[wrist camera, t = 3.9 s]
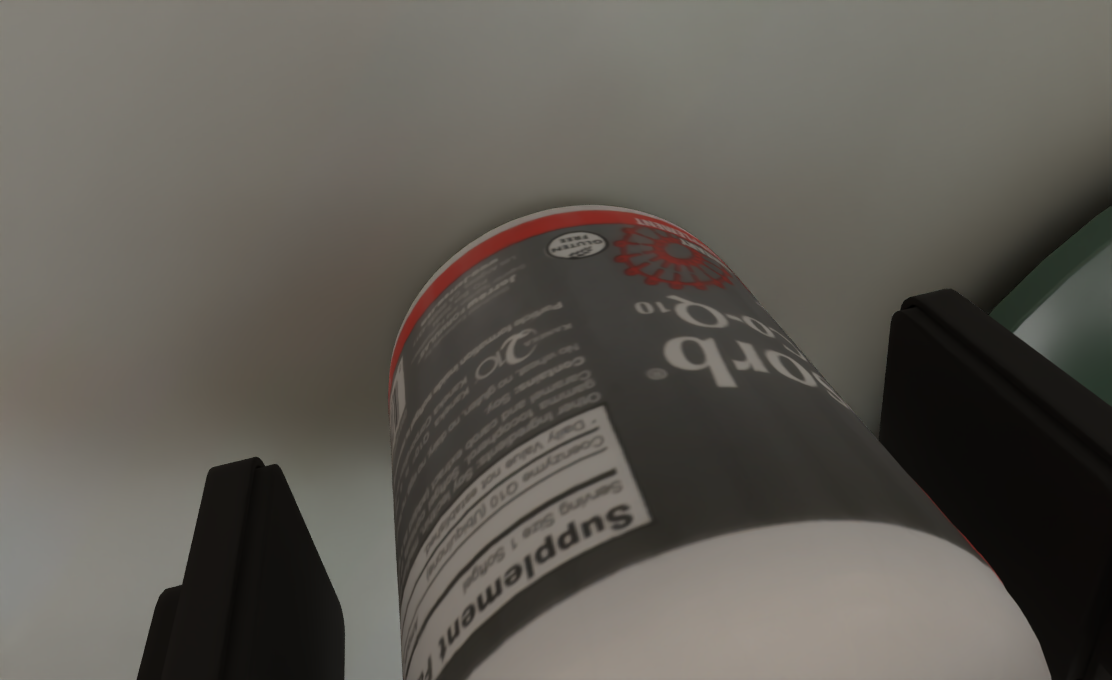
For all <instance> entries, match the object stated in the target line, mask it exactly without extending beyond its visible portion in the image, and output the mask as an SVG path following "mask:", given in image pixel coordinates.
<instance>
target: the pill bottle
mask: <svg viewBox="0 0 1112 680" xmlns="http://www.w3.org/2000/svg"><path fill="white" fill-rule="evenodd" d="M388 404H389V423H390V442H391V458H392V485H393V499H394V522H395V541H396V560H397V577H398V594H399V611H400V629H401V651H402V672H403V680H1051V675H1050V672H1049V669H1048V666H1047V663H1046V660H1045V657H1044V655H1043V652H1042V649H1041V646H1040V643H1039V641H1038V639H1037V637H1036V635H1035V634H1034V632H1033V630H1032V628H1031V626H1030V625H1029V623H1028V621H1027V619H1026V618H1025V616H1024V614H1023V613H1022V611H1021V609H1020V608H1019V606H1018V605H1017V604H1016V602H1015V601H1014V600H1013V598H1012V597H1011V596H1010V594H1009V593H1008V592H1007V590H1006V589H1005V587H1004V585H1003V583H1002V581H1001V580H1000V578H999V577H998V575H997V574H996V573H995V571H994V570H993V569H992V567H991V566H990V565H989V564H988V562H987V561H986V560H985V559H984V557H983V556H982V555H981V554H980V553H979V552H978V551H977V550H976V549H975V548H974V547H973V545H972V544H971V543H970V542H969V541H968V540H967V538H966V537H965V536H964V535H963V534H962V533H961V532H960V531H959V530H958V529H957V528H956V527H955V526H954V525H953V524H952V523H951V522H950V521H949V519H948V518H947V517H946V516H945V515H944V514H943V512H942V511H941V510H940V509H939V508H938V507H937V505H936V504H935V503H934V502H933V501H932V499H931V498H930V497H929V496H928V495H927V494H926V493H925V492H924V491H923V490H922V488H921V487H920V486H919V485H918V484H917V483H916V482H915V481H914V480H913V479H912V478H911V477H910V476H909V475H908V474H907V473H906V471H905V470H904V469H903V468H902V467H901V466H900V465H899V463H898V462H897V461H896V460H895V459H894V458H893V457H892V455H891V454H890V453H889V452H888V451H887V450H886V449H885V447H884V446H883V445H882V444H881V443H880V442H879V441H878V439H877V438H876V437H875V436H874V435H873V434H872V432H871V431H870V430H869V429H868V428H867V427H866V426H865V424H864V423H863V422H862V421H861V420H860V419H859V417H858V416H857V415H856V414H855V413H854V411H853V410H852V409H851V408H850V407H849V406H848V405H847V403H846V402H845V401H844V400H843V399H842V398H841V397H840V396H839V395H838V393H837V392H836V391H835V390H834V389H833V388H832V387H831V386H830V384H829V383H828V382H827V381H826V380H825V379H824V377H823V376H822V375H821V374H820V373H819V372H818V370H817V369H816V368H815V367H814V366H813V364H812V363H811V362H810V361H809V360H808V359H807V357H806V356H805V355H804V354H803V353H802V351H801V350H800V349H799V348H798V347H797V346H796V344H795V343H794V342H793V341H792V340H791V339H790V338H789V336H788V335H787V334H786V333H785V332H784V331H783V330H782V328H781V327H780V326H779V325H778V324H777V323H776V322H775V320H774V319H773V318H772V317H771V316H770V315H769V313H768V312H767V311H766V310H765V309H764V308H763V307H762V305H761V304H760V303H759V302H758V301H757V300H756V298H755V297H754V296H753V295H752V294H751V292H750V291H749V290H748V289H747V287H746V286H745V285H744V284H743V283H742V282H741V281H740V280H739V278H738V277H737V276H736V275H735V274H734V273H733V271H732V270H731V269H730V268H729V267H728V266H727V265H726V264H725V263H724V262H723V261H722V260H721V259H720V258H719V257H718V256H717V255H716V254H715V253H714V252H713V251H712V250H710V249H709V248H708V247H707V246H706V245H705V244H703V243H702V242H701V241H700V240H699V239H697V238H696V237H695V236H693V235H692V234H690V233H689V232H687V231H686V230H684V229H683V228H681V227H679V226H677V225H675V224H673V223H671V222H669V221H667V220H664V219H662V218H659V217H656V216H654V215H651V214H648V213H645V212H641V211H637V210H633V209H627V208H622V207H615V206H605V205H578V206H568V207H560V208H553V209H548V210H544V211H540V212H537V213H533V214H530V215H527V216H524V217H521V218H518V219H515V220H512V221H510V222H507V223H505V224H503V225H501V226H499V227H497V228H495V229H493V230H491V231H489V232H487V233H485V234H484V235H482V236H481V237H479V238H477V239H476V240H474V241H473V242H471V243H469V244H468V245H467V246H465V247H464V248H463V249H462V250H460V251H459V252H458V253H456V254H455V255H454V256H452V257H451V258H450V259H449V260H448V261H447V262H446V263H445V264H444V265H442V267H441V268H440V269H439V270H438V271H437V272H436V273H435V274H434V275H433V276H432V277H431V278H430V279H429V281H428V282H427V283H426V284H425V286H424V287H423V289H422V290H421V291H420V293H419V294H418V295H417V297H416V299H415V300H414V302H413V303H412V305H411V307H410V309H409V311H408V312H407V314H406V316H405V319H404V321H403V323H402V325H401V328H400V330H399V332H398V335H397V339H396V342H395V346H394V349H393V353H392V358H391V365H390V374H389V391H388Z"/></svg>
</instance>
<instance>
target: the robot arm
mask: <svg viewBox="0 0 1112 680" xmlns="http://www.w3.org/2000/svg"><path fill="white" fill-rule="evenodd" d="M879 442H880V443H881V444H882V445H883V446H884V447H885V449H886V450H887V451H888V452H889V453H890V454H891V455H892V457H893V458H894V459H895V460H896V461H897V462H898V463H899V465H900V466H901V467H902V468H903V469H904V470H905V471H906V473H907V474H908V475H909V476H910V477H911V478H912V479H913V480H914V481H915V482H916V483H917V484H918V485H919V486H920V487H921V488H922V490H923V491H924V492H925V493H926V494H927V495H928V496H929V497H930V498H931V499H932V501H933V502H934V503H935V504H936V505H937V507H938V508H939V509H940V510H941V511H942V512H943V514H944V515H945V516H946V517H947V518H948V519H949V521H950V522H951V523H952V524H953V525H954V526H955V527H956V528H957V529H958V530H959V531H960V532H961V533H962V534H963V535H964V536H965V537H966V538H967V540H968V541H969V542H970V543H971V544H972V545H973V547H974V548H975V549H976V550H977V551H978V552H979V553H980V554H981V555H982V556H983V557H984V559H985V560H986V561H987V562H988V564H989V565H990V566H991V567H992V569H993V570H994V571H995V573H996V574H997V575H998V577H999V578H1000V580H1001V581H1002V583H1003V585H1004V587H1005V589H1006V590H1007V592H1008V593H1009V594H1010V596H1011V597H1012V598H1013V600H1014V601H1015V602H1016V604H1017V605H1018V606H1019V608H1020V609H1021V611H1022V613H1023V614H1024V616H1025V618H1026V619H1027V621H1028V623H1029V625H1030V626H1031V628H1032V630H1033V632H1034V634H1035V635H1036V637H1037V639H1038V641H1039V643H1040V646H1041V649H1042V652H1043V655H1044V657H1045V660H1046V663H1047V666H1048V669H1049V672H1050V675H1051V680H1112V407H1111V406H1110V405H1109V404H1107V403H1106V402H1105V401H1103V400H1102V399H1101V398H1099V397H1098V396H1097V395H1095V394H1094V393H1093V392H1091V391H1090V390H1089V389H1087V388H1086V387H1085V386H1083V385H1082V384H1080V383H1079V382H1078V381H1076V380H1075V379H1074V378H1072V377H1071V376H1070V375H1068V374H1067V373H1066V372H1064V371H1063V370H1062V369H1060V368H1059V367H1058V366H1056V365H1055V364H1054V363H1052V362H1051V361H1050V360H1048V359H1047V358H1046V357H1044V356H1043V355H1041V354H1040V353H1039V352H1037V351H1036V350H1035V349H1033V348H1032V347H1031V346H1029V345H1028V344H1027V343H1025V342H1024V341H1023V340H1021V339H1020V338H1019V337H1017V336H1016V335H1015V334H1013V333H1012V332H1011V331H1009V330H1008V329H1007V328H1005V327H1004V326H1002V325H1001V324H1000V323H998V322H997V321H996V320H994V319H993V318H992V317H990V316H989V315H988V314H986V313H985V312H984V311H982V310H981V309H980V308H978V307H977V306H976V305H974V304H973V303H972V302H970V301H969V300H968V299H966V298H965V297H964V296H962V295H961V294H959V293H958V292H956V291H954V290H952V289H942V290H938V291H934V292H930V293H926V294H922V295H917V296H913V297H909V298H908V299H906V300H904V302H903V304H902V305H901V309H900V311H897V312H895V313H894V314H893V316H892V319H891V324H890V334H889V344H888V354H887V363H886V373H885V383H884V393H883V402H882V412H881V422H880V432H879ZM344 664H345V626H344V618H343V613H342V609H341V605H340V602H339V600H338V597H337V595H336V593H335V591H334V588H333V586H332V584H331V581H330V579H329V577H328V575H327V572H326V570H325V568H324V565H323V563H322V561H321V559H320V556H319V554H318V552H317V549H316V547H315V545H314V543H313V540H312V538H311V536H310V533H309V531H308V529H307V527H306V524H305V522H304V520H303V517H302V515H301V513H300V511H299V508H298V506H297V504H296V501H295V499H294V497H293V495H292V492H291V490H290V488H289V485H288V483H287V481H286V479H285V476H284V474H283V472H282V470H281V468H280V467H279V465H278V464H273V465H269V466H265V465H264V463H263V461H262V460H261V459H260V458H258V457H253V458H249V459H245V460H241V461H237V462H232V463H228V464H224V465H220V466H216V467H212V468H211V469H210V470H209V472H208V475H207V478H206V483H205V487H204V491H203V496H202V500H201V505H200V509H199V513H198V518H197V522H196V527H195V531H194V535H193V540H192V544H191V549H190V553H189V557H188V562H187V566H186V571H185V575H184V579H183V584H182V585H179V586H176V587H172V588H168V589H165V590H164V591H163V593H162V594H161V595H160V596H159V599H158V601H157V604H156V606H155V610H154V614H153V618H152V622H151V626H150V630H149V633H148V637H147V641H146V645H145V649H144V653H143V657H142V661H141V665H140V669H139V672H138V676H137V680H344Z"/></svg>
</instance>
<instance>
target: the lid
mask: <svg viewBox="0 0 1112 680" xmlns="http://www.w3.org/2000/svg"><path fill="white" fill-rule="evenodd" d="M989 316H990V317H992V318H993V319H994V320H996V321H997V322H998V323H1000V324H1001V325H1002V326H1004V327H1005V328H1007V329H1008V330H1009V331H1011V332H1012V333H1013V334H1015V335H1016V336H1017V337H1019V338H1020V339H1021V340H1023V341H1024V342H1025V343H1027V344H1028V345H1029V346H1031V347H1032V348H1033V349H1035V350H1036V351H1037V352H1039V353H1040V354H1041V355H1043V356H1044V357H1046V358H1047V359H1048V360H1050V361H1051V362H1052V363H1054V364H1055V365H1056V366H1058V367H1059V368H1060V369H1062V370H1063V371H1064V372H1066V373H1067V374H1068V375H1070V376H1071V377H1072V378H1074V379H1075V380H1076V381H1078V382H1079V383H1080V384H1082V385H1083V386H1085V387H1086V388H1087V389H1089V390H1090V391H1091V392H1093V393H1094V394H1095V395H1097V396H1098V397H1099V398H1101V399H1102V400H1103V401H1105V402H1106V403H1107V404H1109V405H1110V406H1111V407H1112V205H1111V206H1110V207H1108V208H1107V209H1105V210H1104V211H1102V212H1101V213H1100V214H1098V215H1097V216H1096V217H1094V218H1093V219H1092V220H1091V221H1090V222H1088V223H1087V224H1086V225H1085V226H1084V227H1082V228H1081V229H1080V230H1079V231H1077V232H1076V233H1075V234H1074V235H1073V236H1071V237H1070V238H1069V239H1068V240H1067V241H1065V242H1064V243H1063V244H1062V245H1061V246H1059V247H1058V248H1057V249H1056V250H1055V251H1053V252H1052V253H1051V254H1050V255H1049V256H1047V257H1046V258H1045V259H1044V260H1043V261H1042V262H1041V263H1040V264H1039V265H1038V266H1037V267H1036V268H1034V269H1033V270H1032V271H1031V272H1030V273H1029V274H1028V275H1027V276H1026V277H1025V278H1024V279H1023V280H1022V281H1021V282H1020V283H1019V284H1018V285H1017V286H1016V287H1015V288H1014V289H1013V290H1012V291H1011V292H1010V293H1009V294H1008V295H1007V296H1006V297H1005V298H1004V299H1003V300H1002V301H1001V302H1000V303H999V304H998V305H997V306H996V307H995V308H994V309H993V310H992V311H991V313H990V314H989Z"/></svg>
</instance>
